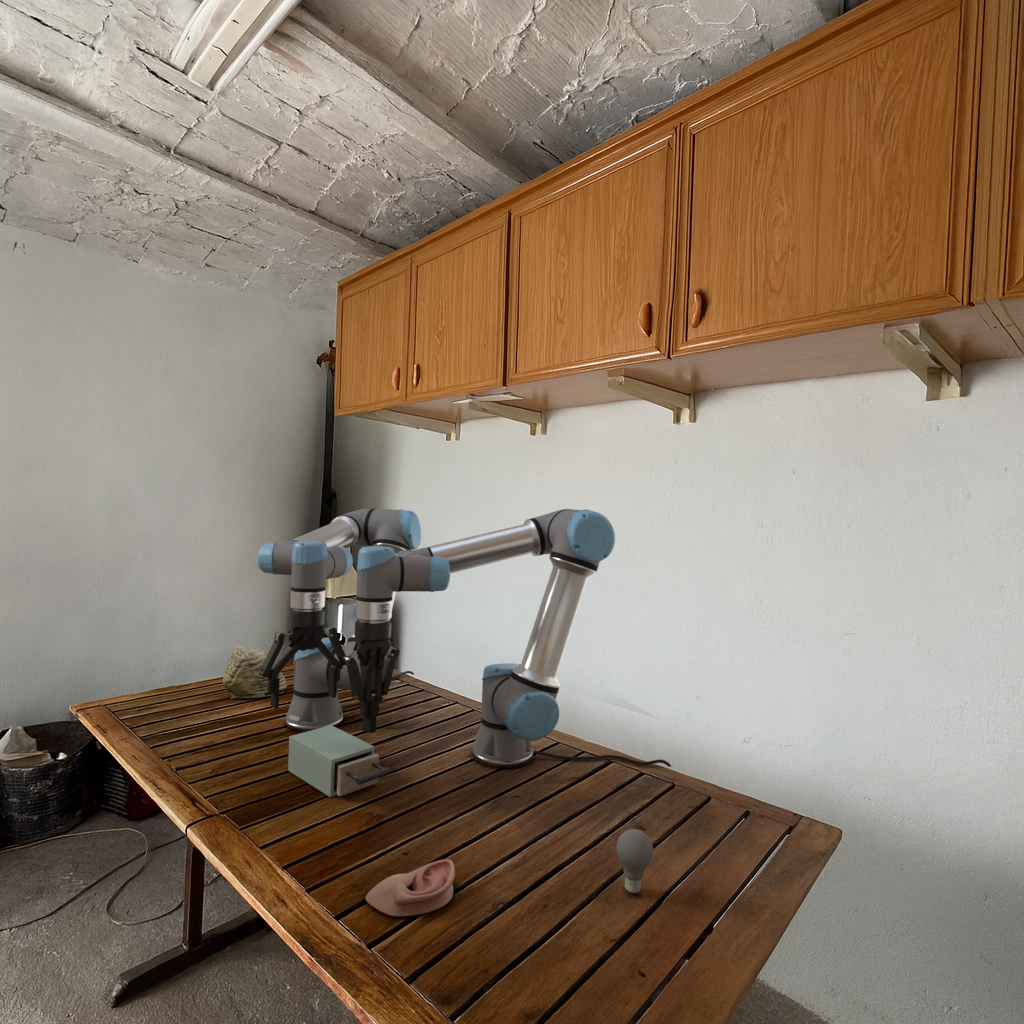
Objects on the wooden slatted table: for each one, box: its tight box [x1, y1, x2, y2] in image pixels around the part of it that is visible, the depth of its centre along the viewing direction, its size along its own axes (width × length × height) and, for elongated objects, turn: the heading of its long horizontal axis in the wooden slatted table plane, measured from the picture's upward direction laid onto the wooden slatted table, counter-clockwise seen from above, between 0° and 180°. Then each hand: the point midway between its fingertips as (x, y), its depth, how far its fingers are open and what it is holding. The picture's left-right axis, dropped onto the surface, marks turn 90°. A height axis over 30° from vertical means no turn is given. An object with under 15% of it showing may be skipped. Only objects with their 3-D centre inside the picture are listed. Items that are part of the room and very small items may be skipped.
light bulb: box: [615, 828, 654, 894], centre depth 106 cm, size 6×6×10 cm
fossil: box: [222, 646, 288, 699], centre depth 198 cm, size 9×18×15 cm, turn 132°
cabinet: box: [287, 725, 376, 798], centre depth 144 cm, size 18×11×8 cm, turn 48°
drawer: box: [334, 753, 391, 797], centre depth 140 cm, size 22×10×6 cm, turn 48°
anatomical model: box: [365, 858, 456, 918], centre depth 102 cm, size 13×4×12 cm
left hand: (304, 701), depth 145 cm, fingers open, 13 cm apart
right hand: (369, 730), depth 134 cm, fingers closed
